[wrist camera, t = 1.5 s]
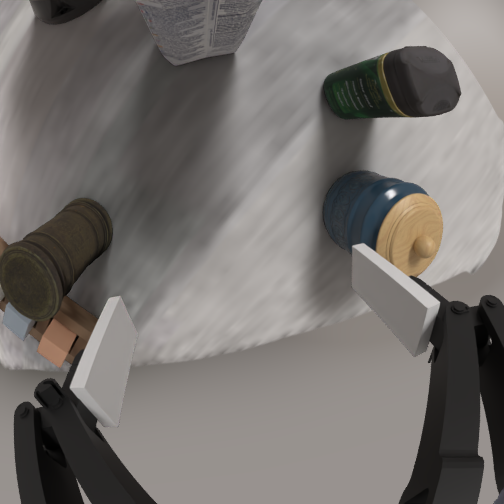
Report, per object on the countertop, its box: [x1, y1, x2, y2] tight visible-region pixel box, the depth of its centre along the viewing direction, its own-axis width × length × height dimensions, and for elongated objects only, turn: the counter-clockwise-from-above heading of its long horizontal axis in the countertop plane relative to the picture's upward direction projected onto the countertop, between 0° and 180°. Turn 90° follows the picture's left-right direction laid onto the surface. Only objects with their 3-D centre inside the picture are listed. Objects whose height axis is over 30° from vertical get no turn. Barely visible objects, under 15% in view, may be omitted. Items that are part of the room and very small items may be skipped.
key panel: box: [0, 237, 98, 364], centre depth 35 cm, size 26×11×4 cm, turn 47°
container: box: [0, 198, 112, 321], centre depth 27 cm, size 9×9×18 cm
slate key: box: [3, 302, 36, 341], centre depth 32 cm, size 5×5×6 cm
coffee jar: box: [324, 46, 461, 119], centre depth 25 cm, size 10×8×19 cm
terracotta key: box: [37, 318, 77, 368], centre depth 35 cm, size 5×5×6 cm
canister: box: [323, 171, 443, 277], centre depth 33 cm, size 13×13×18 cm
